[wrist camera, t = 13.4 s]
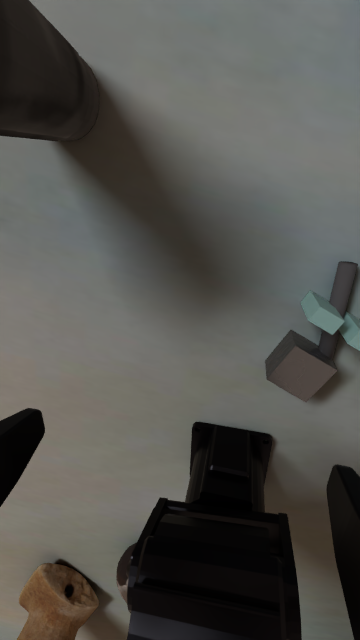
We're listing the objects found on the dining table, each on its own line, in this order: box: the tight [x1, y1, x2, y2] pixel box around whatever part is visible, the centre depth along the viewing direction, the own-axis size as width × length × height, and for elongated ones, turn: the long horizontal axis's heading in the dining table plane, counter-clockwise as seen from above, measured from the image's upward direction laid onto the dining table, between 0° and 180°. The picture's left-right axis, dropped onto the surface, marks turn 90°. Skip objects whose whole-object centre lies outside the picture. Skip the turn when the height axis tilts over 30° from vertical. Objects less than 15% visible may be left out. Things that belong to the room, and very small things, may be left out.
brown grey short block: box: [265, 330, 338, 402], centre depth 20 cm, size 3×3×2 cm
